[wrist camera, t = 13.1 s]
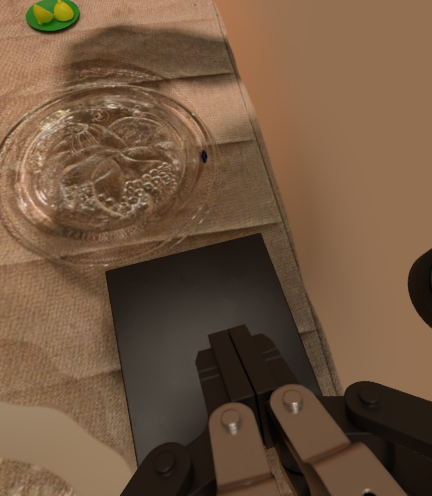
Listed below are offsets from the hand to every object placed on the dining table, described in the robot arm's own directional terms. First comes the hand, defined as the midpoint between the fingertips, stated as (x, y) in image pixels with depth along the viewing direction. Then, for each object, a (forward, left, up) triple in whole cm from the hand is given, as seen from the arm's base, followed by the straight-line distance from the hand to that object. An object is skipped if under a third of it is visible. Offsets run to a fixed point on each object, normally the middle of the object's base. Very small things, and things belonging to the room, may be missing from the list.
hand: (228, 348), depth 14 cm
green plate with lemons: (+46, -37, -21) cm, 63 cm away
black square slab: (+2, -2, -12) cm, 13 cm away
